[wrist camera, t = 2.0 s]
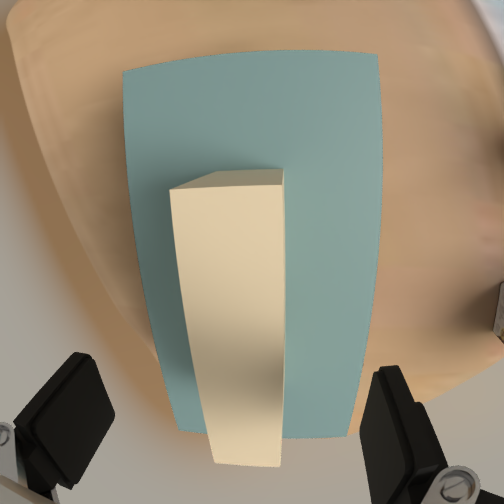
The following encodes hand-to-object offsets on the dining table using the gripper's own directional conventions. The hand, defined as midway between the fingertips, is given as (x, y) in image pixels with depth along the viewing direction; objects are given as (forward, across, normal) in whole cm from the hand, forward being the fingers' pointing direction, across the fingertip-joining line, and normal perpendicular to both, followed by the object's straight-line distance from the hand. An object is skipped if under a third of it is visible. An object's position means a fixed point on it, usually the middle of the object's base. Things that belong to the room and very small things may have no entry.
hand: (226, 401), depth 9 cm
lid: (+9, 0, -1) cm, 9 cm away
